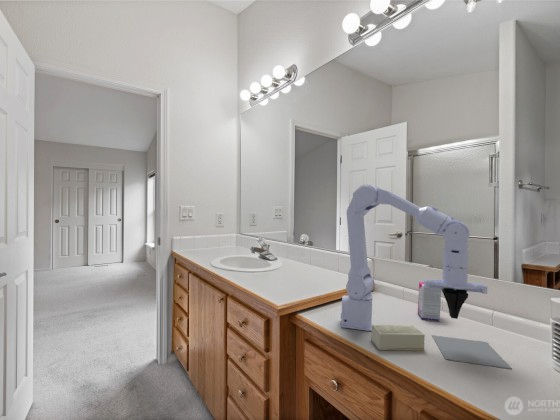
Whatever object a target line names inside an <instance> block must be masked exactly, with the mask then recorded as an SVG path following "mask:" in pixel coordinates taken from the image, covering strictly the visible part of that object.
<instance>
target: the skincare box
mask: <svg viewBox="0 0 560 420" xmlns="http://www.w3.org/2000/svg"><path fill="white" fill-rule="evenodd" d="M370 332H371V334H370V335H371V336H370V337H371V339H370V340H371V342H372V343H373V344H374V346H375V347H376V348H377V349H378V350H379V351H425V339H426V338H425V333H424V332H422V331H421V330H420V329H419V328H417V327H416V326H415V325H414V324H413V325H410V324H406V325H403V324H402V325H401V324H400V325H399V324H398V325H395V324H393V325H392V324H390V325H389V324H373V325H372V331H370Z"/></svg>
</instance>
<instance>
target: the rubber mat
mask: <svg viewBox="0 0 560 420" xmlns="http://www.w3.org/2000/svg"><path fill="white" fill-rule="evenodd" d="M431 337H432V338H433V340H434V342H435V344H436V346H437V347H438V350H440V353H441V354H442V356H443V357H444V359H445V361H454V362H461V363H467V364H473V365H474V364H475V365H479V366H487V367H495V368H501V369H506V370H507V369H508V370H513V368H512V367H511V365H510V364H508V362H506V361H505V359H503V357H502V356H501V355H500V354H499V353H498V352H497V351H496V350H495V349H494V348H493V347H492V346H491V345H490V344H489V343H488V342H487V341H479V340H473V339H465V338H457V337H449V336H441V335H436V334H435V335H433V334H432V335H431Z"/></svg>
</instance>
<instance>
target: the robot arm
mask: <svg viewBox="0 0 560 420" xmlns="http://www.w3.org/2000/svg"><path fill="white" fill-rule="evenodd" d="M379 205H389V206H392V207H394V208H396V209H398V210H399V211H401V212H403V213H405V214H408V215H410V216H412V217H414V219H415V221H416V224H417V225H418V226H419V225H420V226H421V227H423V228H424V229H426V230H428V231H430V232H432V233H434V234H436V235H438V236H441V235H442V237H443V239H444V248H443V251H442V252H443V254H442V255H443V257H442V279H424V280H423V282H424V287H425V288H436V289H441V293H442V295H443V296H444V299H445V301H446V304H447V307H448V312H449V314H448V315H449V317H450V318H451V319H456V320H457V319H458V318H459V314H460V311H461V310H462V307H463V305H464V304H465V302H466V300H467V299H468V298H469V293H468V292H470V293H471V292H472V293H482V294H485V295H487V294H488V286H487V285H486V284H483V283H482V284H481V283H473V282H468V276H469V275H468V271H469V250H468V248H469V242H468V240H469V238H470V230H469V227H468V226H467V225H466V224H465V223H464V222H462V220H455V219H456V217H454V216H453V215H451V216H449V215H447V214H445V213H443V212H441V211H439V208H438V207H436V206H432V207H431V206H428V205H427V206H424V207H421V206H418V205H417V204H415V203H413V202H411V201H409V200H407V199H406V198H404V197H402V196H400V195H398V194H397V193H395V192H393V191H389V190H387V189H383V188H380V187H378V186H374V185H371V184H363V185H360V186H359V187H357V189H356V190H355V191H354V192H353V193H352V199H351V200H350V202H349V205H348V206H347V210H346V222H347V223H346V224H347V236H348V247H349V260H350V268H349V272H348V275H347V276H348V278H347V282H346V287H345V288H346V292H347V295H345V294H344V295H342V297H341V298H342V299H341V313H340V320H341V323H340V324H341V325H340V327H341V328H343V329H344V328H345V329H351V330H352V329H353V330H360V331H367V332H371V331H372V325H374V324H373V323H374V322H373V320H372V319H373V317H372V315H373V295H372V291H373V290H374V289H375V284H376V283H375V280H374V278H373V276H372V273H371V271H372V270H371V268H370V267H369V265H368V254H367V252H368V251H367V242H366V230H365V227H366V226H365V218H364V217H365V216H366V215H367V214H368V213H369V211H370V210H372V209H373V208H376V207H377V206H379Z"/></svg>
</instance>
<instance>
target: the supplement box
mask: <svg viewBox="0 0 560 420" xmlns="http://www.w3.org/2000/svg"><path fill="white" fill-rule="evenodd" d="M417 297H418V300H417V315H418V316H419V318H420V319H421V320H423V321H432V322H441V307H442V306H441V303H442V302H441V301H442V299H441V298H442V290H441V289H436V288H425V287H424V281H423V282H422V281H419V282H418V296H417Z"/></svg>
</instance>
